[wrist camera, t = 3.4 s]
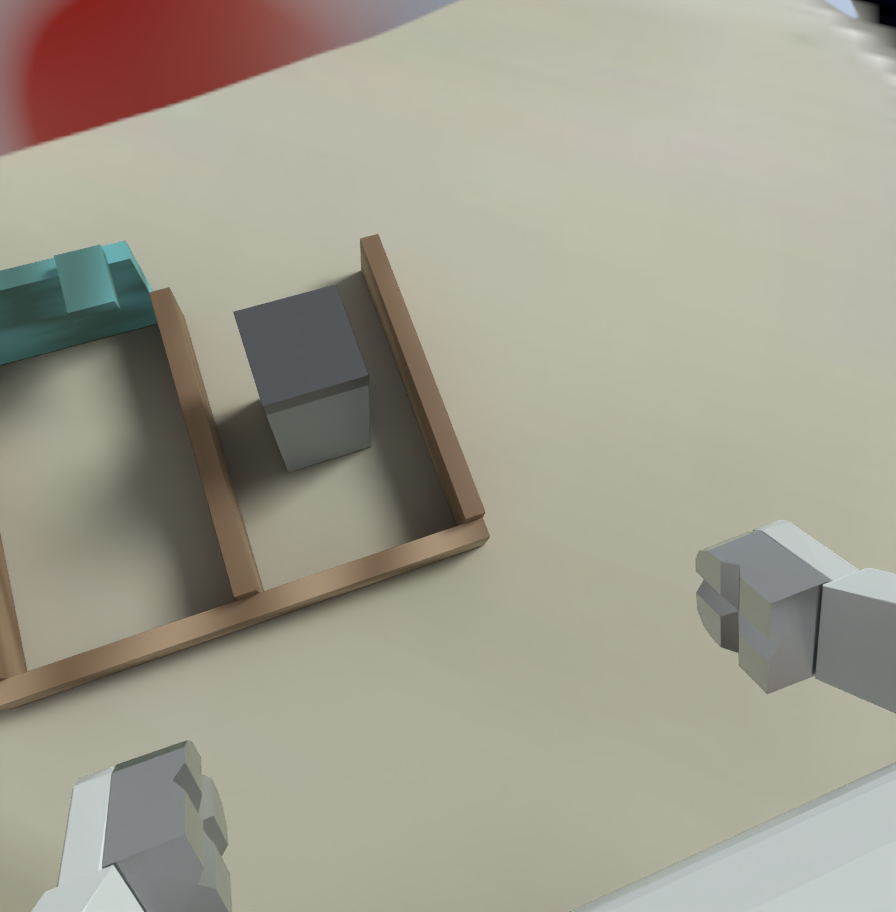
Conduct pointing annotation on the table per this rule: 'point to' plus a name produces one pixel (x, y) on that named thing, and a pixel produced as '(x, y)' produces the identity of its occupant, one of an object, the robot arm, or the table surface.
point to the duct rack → (210, 452)
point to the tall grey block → (308, 375)
